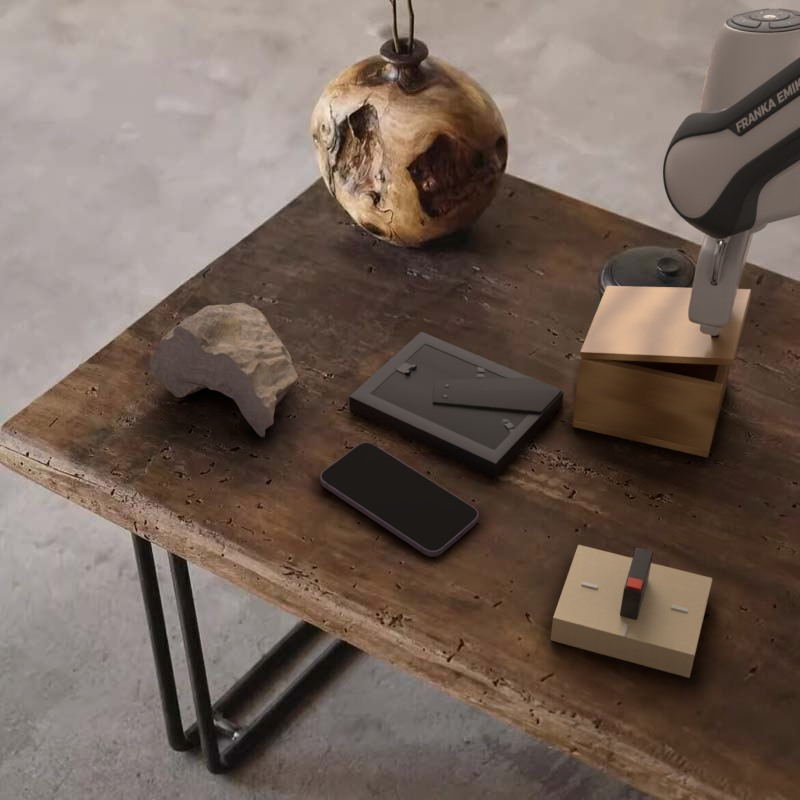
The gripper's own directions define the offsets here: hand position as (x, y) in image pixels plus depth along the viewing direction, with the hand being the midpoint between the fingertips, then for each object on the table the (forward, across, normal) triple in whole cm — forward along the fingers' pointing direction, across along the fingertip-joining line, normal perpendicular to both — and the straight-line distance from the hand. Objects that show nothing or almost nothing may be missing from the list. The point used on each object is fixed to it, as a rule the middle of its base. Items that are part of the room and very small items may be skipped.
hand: (715, 309), depth 127 cm
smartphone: (+14, -22, +25) cm, 36 cm away
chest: (+14, 0, +5) cm, 14 cm away
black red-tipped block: (+11, -29, +1) cm, 31 cm away
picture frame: (+14, -7, +24) cm, 28 cm away
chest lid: (+3, 0, +4) cm, 5 cm away
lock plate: (+14, -29, +1) cm, 32 cm away
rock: (+14, -11, +46) cm, 49 cm away
